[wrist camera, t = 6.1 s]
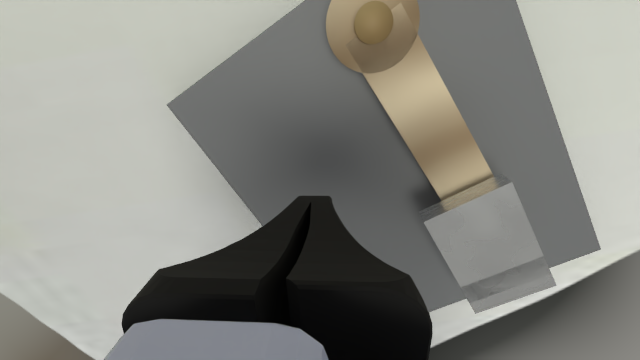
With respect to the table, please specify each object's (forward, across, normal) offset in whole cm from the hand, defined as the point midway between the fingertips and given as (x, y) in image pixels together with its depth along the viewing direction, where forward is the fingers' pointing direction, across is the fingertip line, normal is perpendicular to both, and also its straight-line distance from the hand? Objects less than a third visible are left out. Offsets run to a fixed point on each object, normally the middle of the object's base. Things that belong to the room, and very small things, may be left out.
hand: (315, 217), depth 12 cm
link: (+8, -6, -2) cm, 10 cm away
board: (+9, -4, +2) cm, 11 cm away
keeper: (+8, -10, +5) cm, 14 cm away
